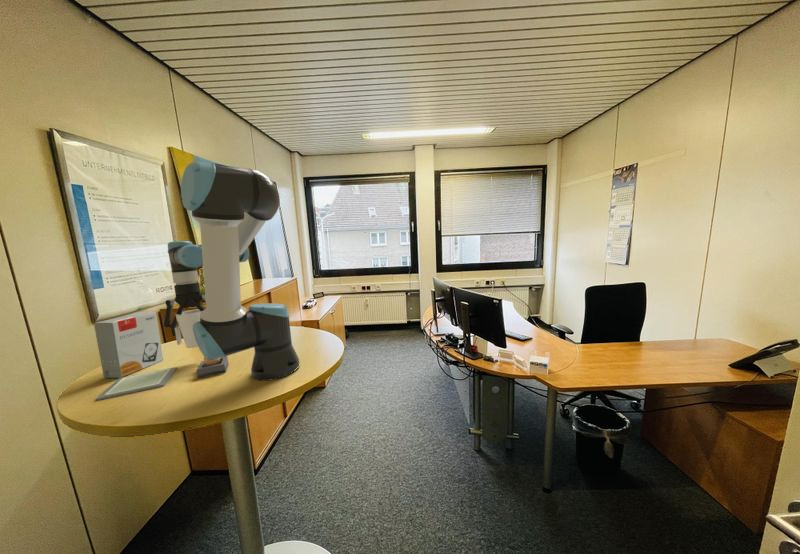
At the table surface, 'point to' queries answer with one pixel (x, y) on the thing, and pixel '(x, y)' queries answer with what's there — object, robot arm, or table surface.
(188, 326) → the foam cup
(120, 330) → the hard drive box
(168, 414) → the table surface
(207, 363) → the button
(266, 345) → the robot arm
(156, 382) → the picture board
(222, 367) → the button housing
